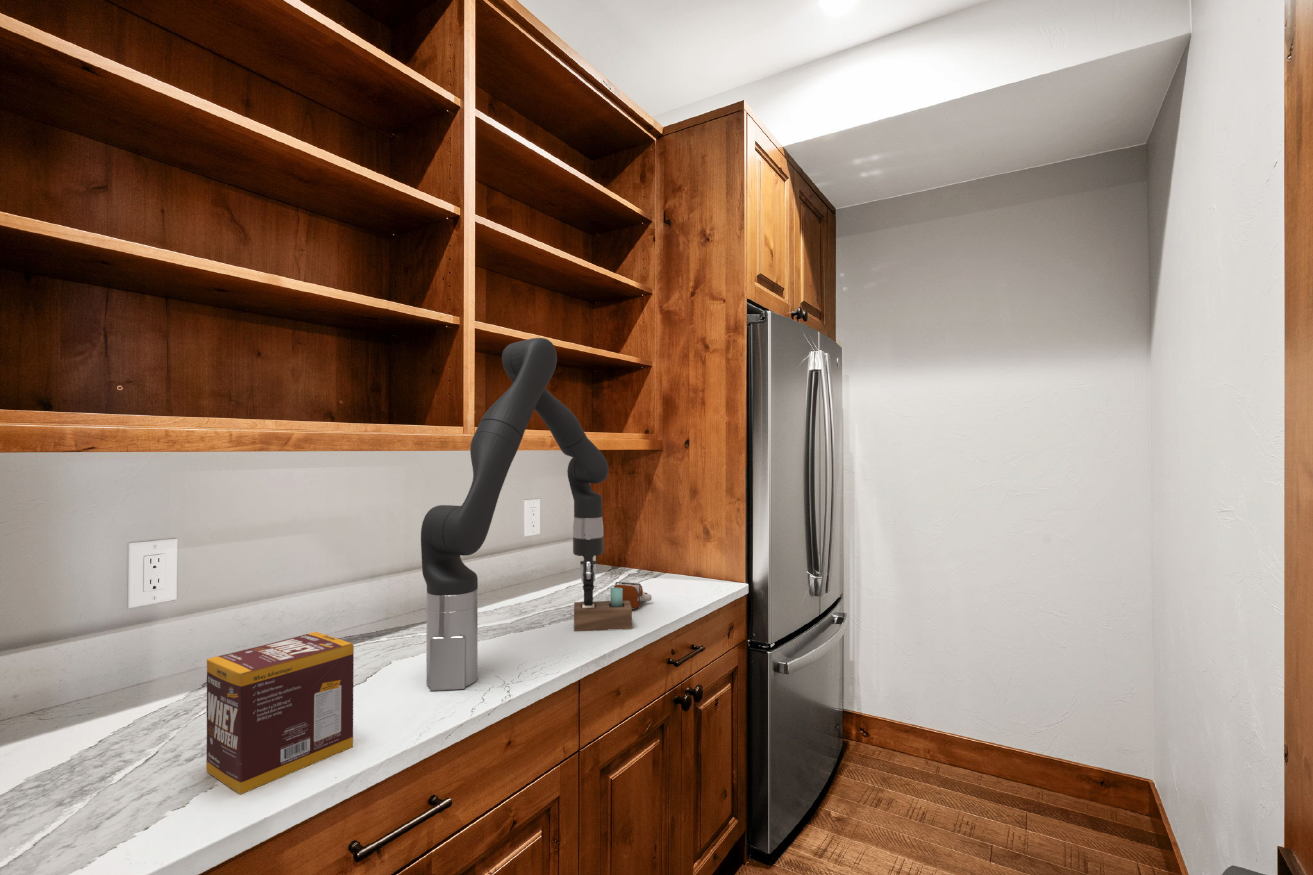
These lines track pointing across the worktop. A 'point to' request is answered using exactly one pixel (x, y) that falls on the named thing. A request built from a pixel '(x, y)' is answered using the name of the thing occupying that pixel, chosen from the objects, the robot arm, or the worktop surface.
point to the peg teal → (616, 597)
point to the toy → (633, 593)
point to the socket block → (602, 616)
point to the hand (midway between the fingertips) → (588, 604)
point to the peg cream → (588, 606)
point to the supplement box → (278, 709)
